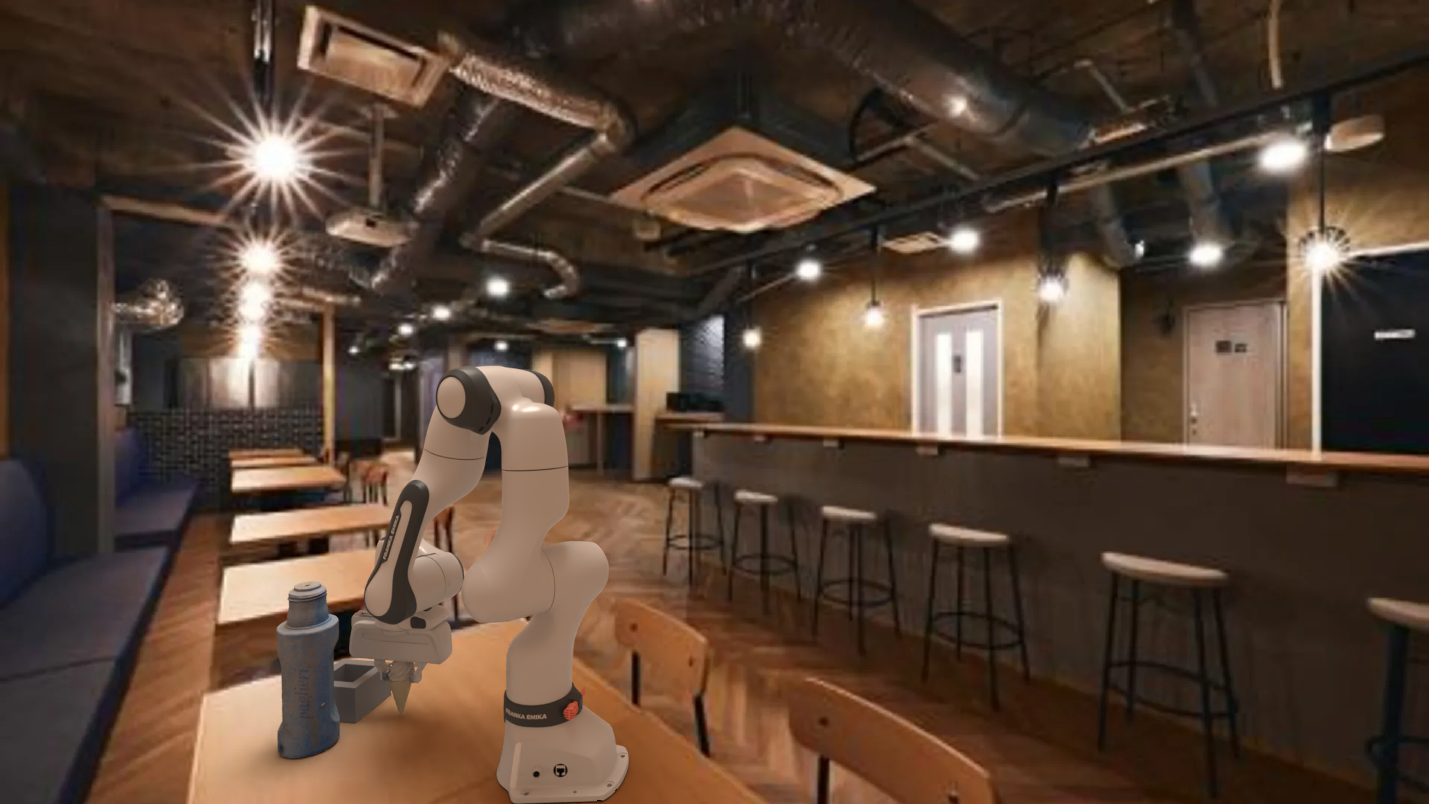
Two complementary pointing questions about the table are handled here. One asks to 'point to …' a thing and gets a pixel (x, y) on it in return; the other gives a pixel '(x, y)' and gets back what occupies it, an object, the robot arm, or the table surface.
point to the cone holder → (358, 688)
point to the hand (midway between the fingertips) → (401, 680)
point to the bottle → (307, 673)
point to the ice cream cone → (400, 682)
